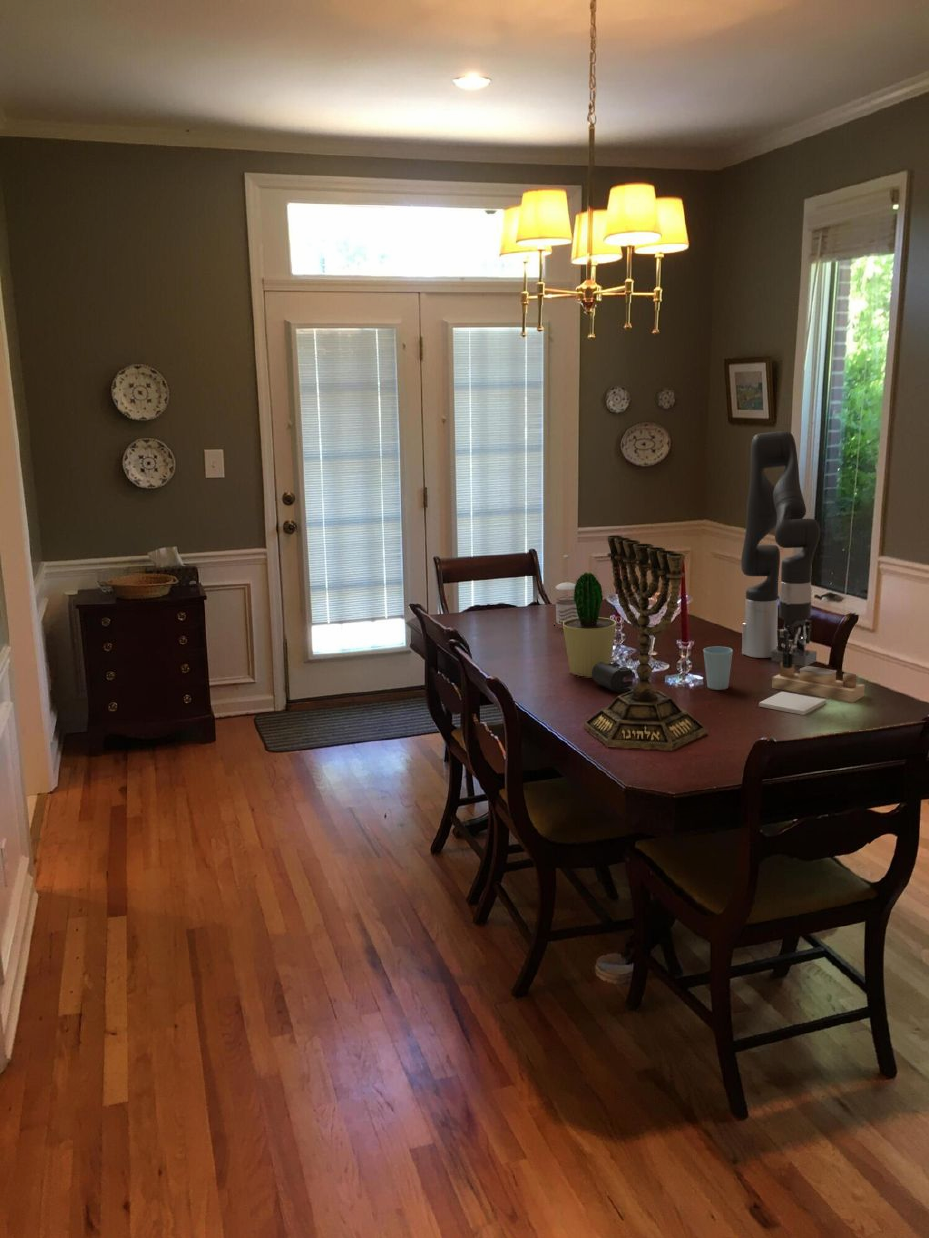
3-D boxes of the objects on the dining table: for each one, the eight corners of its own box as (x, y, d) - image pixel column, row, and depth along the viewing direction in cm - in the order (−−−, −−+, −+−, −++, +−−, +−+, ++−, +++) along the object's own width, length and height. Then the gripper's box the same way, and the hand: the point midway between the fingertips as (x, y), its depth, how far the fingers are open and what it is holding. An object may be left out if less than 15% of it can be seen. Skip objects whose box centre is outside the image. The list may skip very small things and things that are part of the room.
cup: (711, 692, 268) (712, 654, 266) (698, 684, 275) (698, 648, 273) (737, 689, 270) (738, 651, 268) (723, 681, 277) (723, 645, 275)
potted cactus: (625, 675, 287) (625, 572, 281) (576, 682, 283) (573, 577, 277) (603, 662, 302) (602, 564, 295) (555, 668, 298) (553, 568, 291)
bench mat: (759, 706, 255) (759, 702, 255) (781, 695, 263) (781, 691, 263) (804, 715, 247) (804, 711, 246) (825, 703, 255) (825, 699, 255)
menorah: (730, 748, 226) (733, 551, 216) (627, 763, 220) (625, 560, 210) (658, 703, 261) (658, 531, 251) (567, 715, 254) (564, 539, 245)
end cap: (591, 686, 278) (591, 663, 277) (613, 682, 281) (613, 659, 280) (610, 695, 269) (610, 671, 268) (633, 691, 272) (633, 667, 271)
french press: (551, 623, 356) (549, 553, 351) (583, 621, 357) (581, 551, 352) (556, 629, 346) (554, 558, 341) (589, 627, 348) (588, 556, 342)
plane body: (772, 687, 270) (772, 659, 268) (784, 681, 275) (785, 653, 273) (852, 702, 255) (853, 672, 253) (864, 695, 259) (865, 666, 258)
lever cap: (771, 660, 253) (771, 648, 253) (782, 655, 257) (783, 643, 257) (805, 666, 247) (805, 653, 246) (816, 661, 251) (816, 648, 251)
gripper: (794, 593, 256) (792, 656, 260) (767, 602, 246) (765, 668, 250) (822, 596, 251) (820, 660, 255) (796, 606, 241) (794, 673, 245)
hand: (793, 664), depth 252 cm, fingers closed on lever cap, 6 cm apart
